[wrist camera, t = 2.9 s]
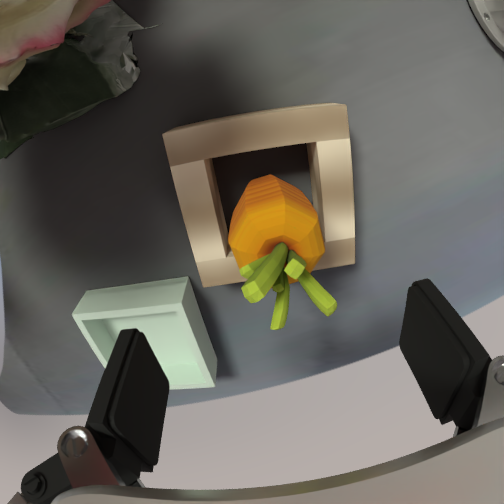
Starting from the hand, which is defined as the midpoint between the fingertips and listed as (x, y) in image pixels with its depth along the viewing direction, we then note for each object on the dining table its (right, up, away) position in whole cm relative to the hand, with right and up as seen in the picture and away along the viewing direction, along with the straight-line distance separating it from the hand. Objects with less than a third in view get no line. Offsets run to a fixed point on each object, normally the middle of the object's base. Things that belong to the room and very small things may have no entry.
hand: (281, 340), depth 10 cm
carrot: (0, +8, +14) cm, 17 cm away
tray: (-12, -5, +21) cm, 25 cm away
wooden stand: (0, +8, +14) cm, 17 cm away
